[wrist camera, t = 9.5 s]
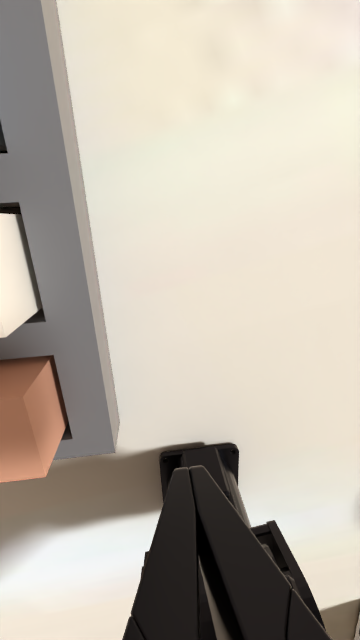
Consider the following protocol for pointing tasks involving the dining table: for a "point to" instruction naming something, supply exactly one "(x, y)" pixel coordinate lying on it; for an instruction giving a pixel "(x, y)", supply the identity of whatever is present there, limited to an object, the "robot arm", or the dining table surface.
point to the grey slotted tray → (54, 225)
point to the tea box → (358, 630)
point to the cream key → (16, 276)
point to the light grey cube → (2, 140)
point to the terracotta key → (29, 417)
